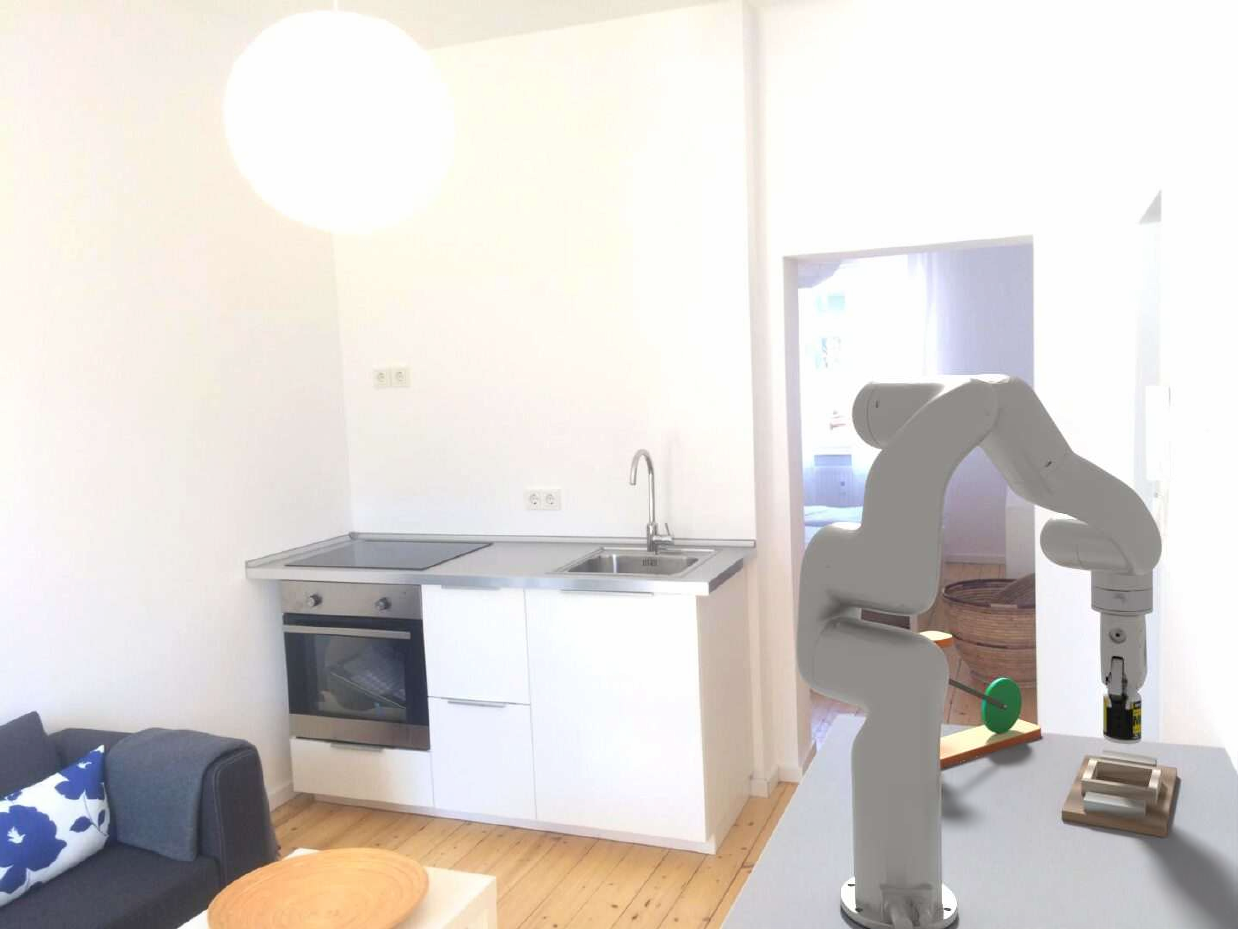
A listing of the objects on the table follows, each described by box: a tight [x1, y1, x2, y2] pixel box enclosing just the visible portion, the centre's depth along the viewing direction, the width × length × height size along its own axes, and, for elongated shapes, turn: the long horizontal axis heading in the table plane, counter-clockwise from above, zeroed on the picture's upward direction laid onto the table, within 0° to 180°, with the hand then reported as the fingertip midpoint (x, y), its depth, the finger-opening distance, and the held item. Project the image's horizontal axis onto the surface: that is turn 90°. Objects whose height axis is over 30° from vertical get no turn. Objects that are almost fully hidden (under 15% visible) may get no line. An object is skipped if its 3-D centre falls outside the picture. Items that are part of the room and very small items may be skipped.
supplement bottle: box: [1102, 681, 1143, 745], centre depth 141 cm, size 5×5×8 cm
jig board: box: [1061, 749, 1178, 838], centre depth 142 cm, size 22×12×3 cm, turn 148°
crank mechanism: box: [918, 630, 1042, 768], centre depth 162 cm, size 25×7×19 cm, turn 120°
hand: (1122, 728), depth 141 cm, fingers closed on supplement bottle, 4 cm apart
